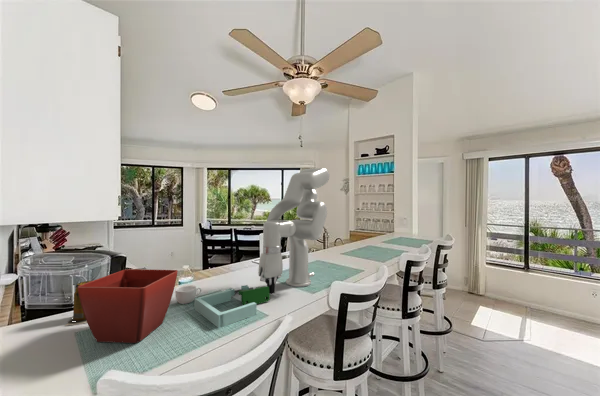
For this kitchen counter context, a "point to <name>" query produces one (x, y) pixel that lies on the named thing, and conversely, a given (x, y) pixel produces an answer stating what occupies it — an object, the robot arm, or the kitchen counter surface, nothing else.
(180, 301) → the teacup
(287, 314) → the kitchen counter surface
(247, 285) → the clip
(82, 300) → the plant pot
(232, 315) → the end holder
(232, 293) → the clip
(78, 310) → the condiment
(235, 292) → the cable
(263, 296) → the clamp
